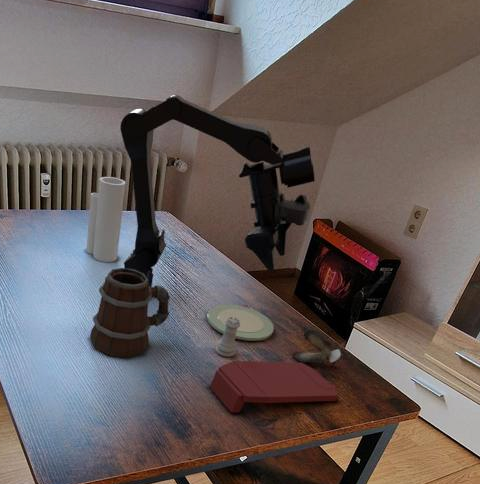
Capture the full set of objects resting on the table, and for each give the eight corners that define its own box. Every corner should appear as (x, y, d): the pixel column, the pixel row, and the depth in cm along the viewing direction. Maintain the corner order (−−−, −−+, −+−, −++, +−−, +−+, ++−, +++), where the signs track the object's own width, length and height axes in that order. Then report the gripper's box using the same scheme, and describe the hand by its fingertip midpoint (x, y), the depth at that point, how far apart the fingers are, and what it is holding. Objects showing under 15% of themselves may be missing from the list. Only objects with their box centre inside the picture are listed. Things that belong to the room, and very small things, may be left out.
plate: (231, 346, 118) (233, 341, 117) (193, 312, 129) (195, 307, 128) (286, 337, 126) (287, 332, 125) (246, 306, 136) (247, 301, 135)
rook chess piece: (213, 345, 117) (221, 313, 112) (232, 347, 118) (242, 315, 113) (216, 356, 114) (225, 323, 109) (236, 358, 115) (246, 325, 110)
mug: (99, 359, 106) (106, 290, 97) (85, 329, 114) (91, 262, 105) (172, 356, 111) (186, 289, 102) (154, 327, 120) (165, 263, 111)
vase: (121, 261, 146) (130, 185, 134) (97, 262, 143) (104, 184, 131) (104, 244, 153) (111, 171, 141) (80, 246, 150) (86, 170, 138)
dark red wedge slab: (296, 381, 118) (204, 381, 105) (306, 362, 115) (213, 360, 102) (331, 414, 110) (236, 419, 97) (343, 395, 107) (247, 397, 94)
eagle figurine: (335, 351, 122) (299, 335, 122) (351, 337, 115) (313, 320, 115) (326, 379, 119) (290, 363, 119) (342, 367, 113) (303, 350, 112)
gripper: (291, 200, 104) (302, 276, 112) (313, 173, 116) (321, 243, 125) (237, 209, 109) (251, 281, 117) (264, 183, 122) (275, 249, 130)
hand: (277, 263), depth 122 cm, fingers open, 9 cm apart
